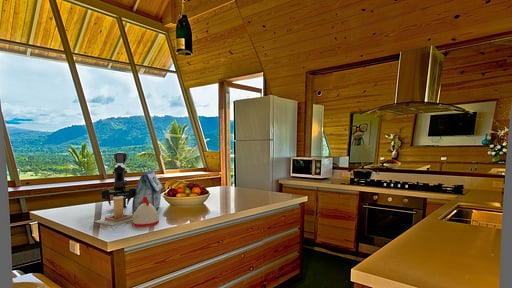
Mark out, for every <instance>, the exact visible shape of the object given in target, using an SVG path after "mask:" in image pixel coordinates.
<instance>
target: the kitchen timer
mask: <svg viewBox="0 0 512 288" xmlns="http://www.w3.org/2000/svg"><path fill="white" fill-rule="evenodd" d="M132 215H133V220H132V226H133V227H135V228H146V227H153V226H155V225H158V224H159V223H160V219H159V210H157V208H156V209H155V208H154V206H153V205H151V204H150V203H149V202H148V200H147V197H143V204H141V205H140V206H139V207H138V208H137V210H136V212H134V214H133V213H132Z"/></svg>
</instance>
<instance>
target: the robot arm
mask: <svg viewBox="0 0 512 288" xmlns="http://www.w3.org/2000/svg"><path fill="white" fill-rule="evenodd" d="M127 159H128V153H127V152H121V151H118V152H115V153H114V154H113V160H114V161H115V165H114V168H113V169H112V175H113V176H114V179H113V181H114V184H113V191H111V190H110V189H102V190H101V198H102V199H104V200H106V202H107V203H108V205H109V207H111V205H112V204H111V203H112V201H111V196H113V197H115V196H123V209H125V208H126V209H127V208H128V205H129V203H130V201H131V199H133V197H134V196H136V188H137V187H130V188H128V190H127V188H126V186H127V184H128V183H127V182H128V180H127V179H125V176H126V175H127V174H128V170H127V168H126V165H125V164H126V162H127Z"/></svg>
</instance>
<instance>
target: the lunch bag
mask: <svg viewBox="0 0 512 288" xmlns="http://www.w3.org/2000/svg"><path fill="white" fill-rule="evenodd" d="M136 184H137V186H136V187H135V188H136V196H134V197H133V198H132V203H131V206H132V207H131V208H132V209H131V210H132V215H133V214H134V212H136V210H137V208H138V207H139V206H140V205H141V204H143V197H147V200H148V202H149V203H150V204H151V205H153V206H154V208H155V209H156V210H157V209H158V207H160V205H161V199H162V198H161V196H162V195H161V193H162V192H161V191H162V190H163V188H164V186H163V184H162V183H161V181H160V179H159V178H158V176H157V175H156V172H155V171H154V170H149V171H147V172H143V174H141V176H140V177H139V179H138V182H137V183H136Z"/></svg>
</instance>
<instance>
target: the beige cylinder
mask: <svg viewBox="0 0 512 288" xmlns="http://www.w3.org/2000/svg"><path fill="white" fill-rule="evenodd" d="M112 201H113V215H114V219H119V218H123V217H124V214H125V213H124V211H125V210H124V208H123V196H115V197H114V196H113V197H112Z"/></svg>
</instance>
